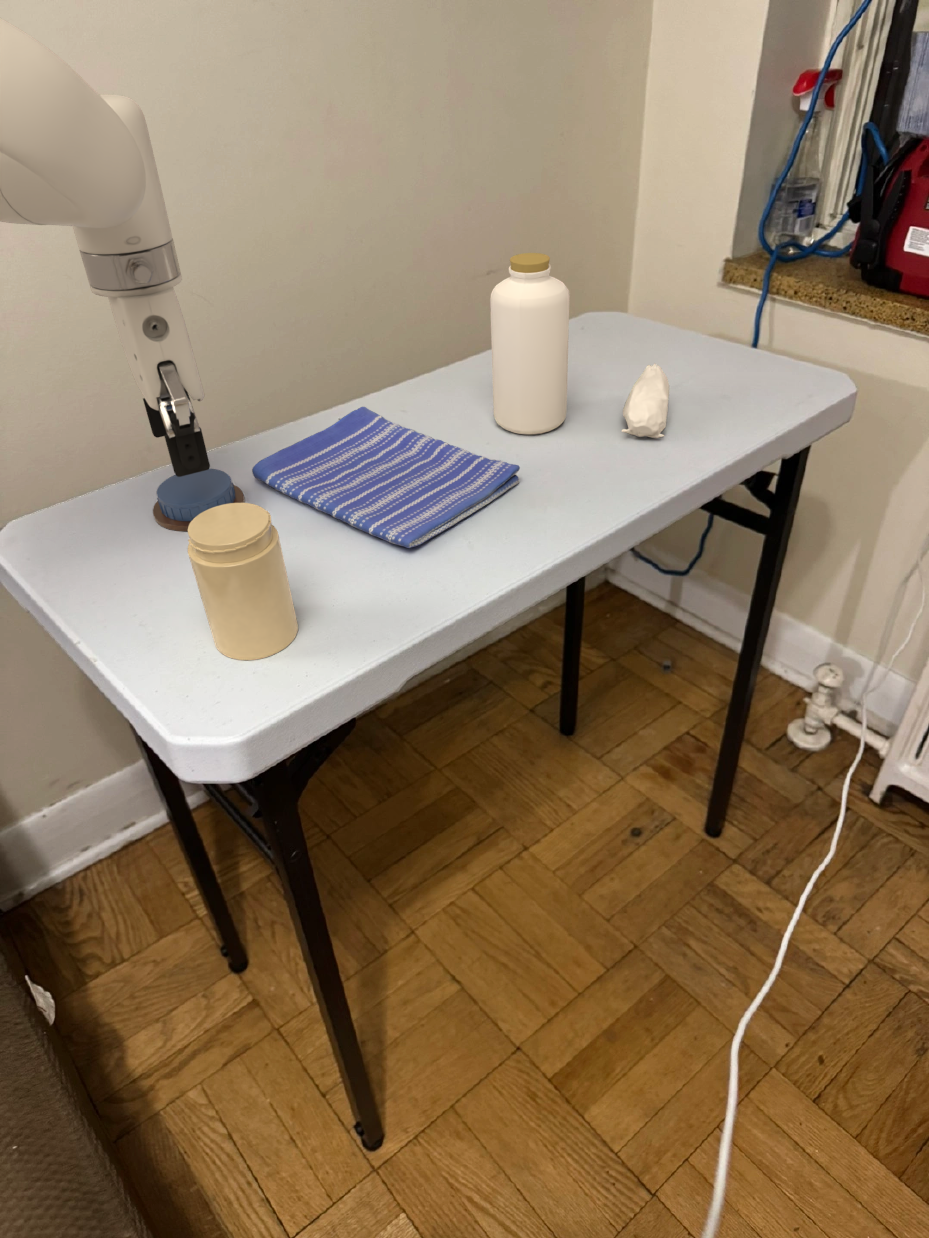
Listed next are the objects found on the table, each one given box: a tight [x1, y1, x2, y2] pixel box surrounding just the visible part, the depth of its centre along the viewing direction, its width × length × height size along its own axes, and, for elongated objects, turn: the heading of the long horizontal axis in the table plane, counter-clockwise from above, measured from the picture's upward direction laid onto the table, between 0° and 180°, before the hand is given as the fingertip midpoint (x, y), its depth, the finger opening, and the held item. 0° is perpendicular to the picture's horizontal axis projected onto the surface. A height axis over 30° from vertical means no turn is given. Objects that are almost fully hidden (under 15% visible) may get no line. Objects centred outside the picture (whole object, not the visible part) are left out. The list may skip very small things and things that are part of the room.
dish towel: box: [251, 406, 521, 549], centre depth 89 cm, size 17×24×3 cm
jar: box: [187, 502, 299, 661], centre depth 68 cm, size 7×7×11 cm
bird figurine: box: [621, 363, 670, 439], centre depth 96 cm, size 5×7×10 cm
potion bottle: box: [489, 252, 571, 435], centre depth 94 cm, size 8×8×18 cm
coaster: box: [152, 483, 246, 532], centre depth 87 cm, size 9×9×1 cm
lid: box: [156, 468, 235, 521], centre depth 87 cm, size 7×7×2 cm
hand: (180, 452), depth 83 cm, fingers open, 9 cm apart
